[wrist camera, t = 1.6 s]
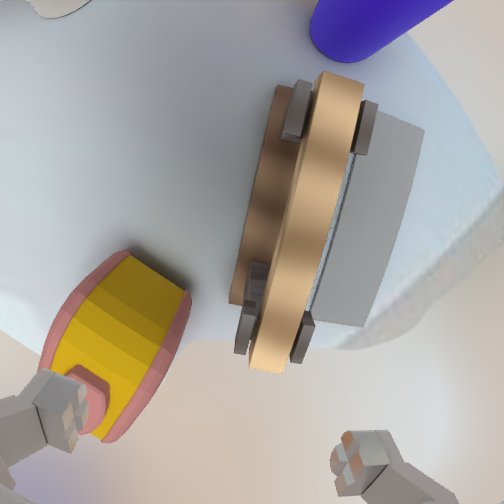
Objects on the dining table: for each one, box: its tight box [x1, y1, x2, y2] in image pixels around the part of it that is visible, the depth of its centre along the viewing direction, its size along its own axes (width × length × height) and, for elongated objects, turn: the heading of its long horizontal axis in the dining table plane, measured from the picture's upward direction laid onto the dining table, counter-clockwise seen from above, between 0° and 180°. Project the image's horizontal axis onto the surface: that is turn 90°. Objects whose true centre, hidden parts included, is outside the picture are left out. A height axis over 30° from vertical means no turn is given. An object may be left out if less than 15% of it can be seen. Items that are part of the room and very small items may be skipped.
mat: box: [309, 111, 425, 327], centre depth 36 cm, size 27×8×1 cm, turn 168°
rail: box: [249, 71, 364, 373], centre depth 24 cm, size 24×3×3 cm, turn 168°
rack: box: [229, 80, 378, 364], centre depth 29 cm, size 26×8×14 cm, turn 168°
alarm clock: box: [37, 250, 192, 443], centre depth 32 cm, size 18×11×19 cm, turn 145°
